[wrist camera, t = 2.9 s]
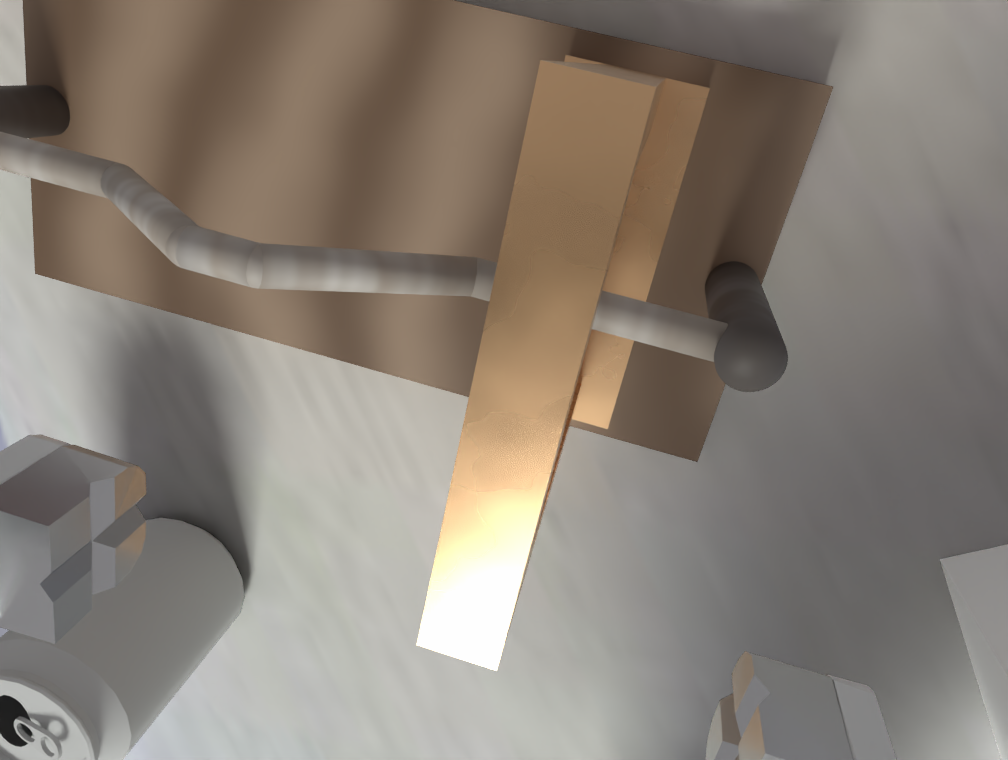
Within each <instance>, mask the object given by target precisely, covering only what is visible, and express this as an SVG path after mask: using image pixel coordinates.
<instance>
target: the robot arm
mask: <svg viewBox="0 0 1008 760" xmlns="http://www.w3.org/2000/svg"><path fill="white" fill-rule="evenodd" d="M145 495H146V473H145V472H144V471H143V470H142V469H141V468H140V467H139V466H137V465H134V464H131V463H128V462H125V461H122V460H119V459H116V458H113V457H110V456H106V455H103V454H100V453H97V452H94V451H91V450H88V449H85V448H82V447H79V446H76V445H71V444H68V443H66V442H63V441H59V440H56V439H53V438H50V437H47V436H44V435H28V436H26V437H25V438H23V439H21V440H19V441H18V442H16V443H14V444H12V445H11V446H9V447H7V448H6V449H4V450H2V451H0V628H4V629H7V630H10V631H14V632H17V633H20V634H24V635H27V636H30V637H34V638H37V639H40V640H44V641H47V642H50V643H54V644H56V643H57V642H58V641H59V640H60V639H61V638H62V637H63V636H64V635H65V634H66V633H67V632H68V631H69V630H70V629H72V628H73V627H74V626H75V625H76V624H77V623H78V622H79V621H80V620H81V619H82V618H83V617H84V616H85V615H86V614H88V613H89V612H90V611H91V610H92V603H93V594H96V593H99V592H102V591H105V590H108V589H111V588H114V587H116V586H117V585H118V584H119V583H120V582H121V581H122V580H123V579H124V578H125V577H126V576H127V575H128V574H129V573H130V572H131V570H132V568H133V566H134V565H135V563H136V561H137V559H138V558H139V556H140V554H141V552H142V548H143V544H144V541H145V537H146V520H145V519H144V517H143V515H142V514H141V512H140V510H139V509H138V507H137V505H136V503H137V502H139V501H140V500H141V499H142V498H143V497H144V496H145ZM732 685H733V694H731V695H729V696H727V697H725V698H723V699H721V700H720V701H719V704H718V706H717V708H716V711H715V713H714V716H713V718H712V721H711V726H710V730H709V734H708V739H707V746H706V759H705V760H897V759H896V756H895V752H894V749H893V746H892V743H891V740H890V737H889V734H888V731H887V728H886V725H885V722H884V719H883V716H882V713H881V710H880V707H879V704H878V701H877V698H876V695H875V692H874V691H873V690H872V689H871V688H870V687H869V686H868V685H864V684H860V683H857V682H853V681H850V680H846V679H843V678H839V677H835V676H832V675H828V674H827V675H823V674H820V673H817V672H814V671H810V670H807V669H804V668H800V667H797V666H794V665H790V664H787V663H784V662H780V661H777V660H774V659H770V658H767V657H764V656H760V655H757V654H754V653H750V652H747V651H745V652H744V653H743V654H742V656H741V657H740V658H739V659H738V661H737V664H736V666H735V668H734V670H733V672H732Z"/></svg>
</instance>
